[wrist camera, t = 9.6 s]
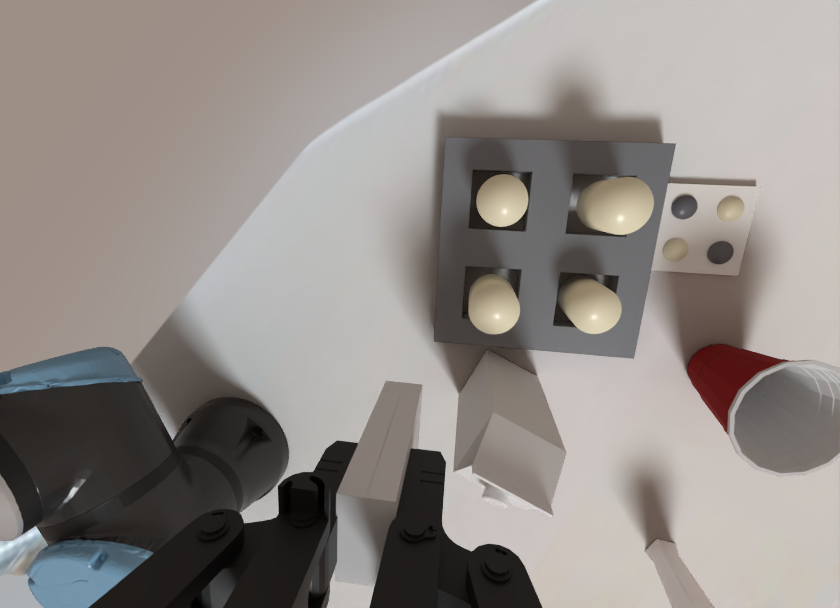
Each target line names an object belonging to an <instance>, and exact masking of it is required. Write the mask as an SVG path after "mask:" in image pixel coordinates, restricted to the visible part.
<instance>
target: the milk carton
mask: <svg viewBox="0 0 840 608" xmlns="http://www.w3.org/2000/svg"><path fill="white" fill-rule="evenodd" d="M565 456H566V451H565V448H564V445H563V443H562V440H561V437H560V435H559V432H558V429H557V427H556V424H555V421H554V419H553V416H552V413H551V410H550V408H549V405H548V402H547V400H546V397H545V394H544V392H543V389H542V386H541V384H540V381H539V378H538V377H537V376H535V375H533V374H532V373H530V372H528V371H526V370H524V369H522V368H521V367H519V366H517V365H515V364H513V363H511V362H510V361H508V360H506V359H504V358H502V357H500V356H499V355H497V354H495V353H493V352H491V351H489V350H487V351H486V352H485V354H484V356H483V357H482V359H481V360H480V362H479V364H478V365H477V367H476V368H475V370H474V372H473V373H472V375H471V376H470V378H469V380H468V381H467V383H466V384H465V386H464V387H463V389H462V391H461V392H460V394H459V398H458V413H457V427H456V441H455V455H454V471H453V472H454V473H456V474H458V475H460V476H461V477H463V478H465V479H467V480H469V481H471V482H472V483H474V484H476V485H478V486H480V487H482V488H484V489H485V490H484V493H483V496H482V498H483V499H484V500H485V501H486V502H488V503H489V504H491V505H493V506H496V507H499V508H507V507H508V503H511V504H513V505H515V506H517V507H519V508H521V509H523V510H526V509H537V510H538V511H540V512H542V513H544V514H546V515H548V516H549V517H553V513H552V509H551V504H552V500H553V497H554V493H555V490H556V487H557V483H558V480H559V476H560V473H561V470H562V466H563V463H564V459H565Z"/></svg>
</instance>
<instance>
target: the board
mask: <svg viewBox="0 0 840 608" xmlns="http://www.w3.org/2000/svg"><path fill="white" fill-rule="evenodd" d="M675 145H676V144H670V143H634V142H599V141H563V140H528V139H493V138H457V137H445V153H444V170H443V188H442V206H441V223H440V241H439V259H438V277H437V294H436V312H435V330H434V341H435V342H447V343H459V344H470V345H482V346H494V347H505V348H517V349H529V350H540V351H552V352H563V353H575V354H587V355H598V356H610V357H622V358H633V359H634V355H635V350H636V345H637V340H638V335H639V330H640V324H641V319H642V314H643V309H644V304H645V299H646V294H647V289H648V283H649V278H650V273H651V268H652V263H653V258H654V253H655V248H656V243H657V237H658V232H659V227H660V222H661V217H662V212H663V207H664V202H665V196H666V191H667V186H668V181H669V176H670V171H671V166H672V161H673V155H674V150H675ZM473 171H482V172H509V173H529V180H528V189H527V193H528V206H527V209H526V211H525V217H524V226H523V230H511V229H492V228H474V227H469V215H470V202H471V188H472V175H473ZM573 175H589V176H616V177H634V178H637V179H640V180H642V181H643V182H645V183H646V184H647V185H648V186H649V188H650V189H651V191H652V194H653V198H654V207H653V211H652V214H651V216H650V218H649V219H648V221H647V222H646V223H645V224H644V225H643V226H642V227H641V228H640V229H638V230H636V231H635V232H632V233H629V234H625V235H605V234H586V233H568V232H566V225H567V218H568V211H569V203H570V196H571V189H572V181H573ZM466 266H474V267H490V268H505V269H519V272H518V281H517V290H516V297H517V299H518V301H519V305H520V315H519V318H518V320H517V322H516V324H515V325H514V326H513V327H512V328H511V329H509V330H508V331H506V332H504V333H501V334H487V333H484V332H482V331H480V330H479V329H477V328H476V327H475V326H474V325H473V323H472V322H471V320H470V317H469V313H462V309H463V296H464V282H465V269H466ZM560 272H568V273H583V274H599V275H611V276H610V282H609V288H608V289H610V290H611V291H613V292H614V293H615V294H616V295H617V296H618V298H619V300H620V302H621V306H622V311H621V316H620V318H619V320H618V322H617V323H616V324H615V326H614V327H612V328H611V329H610V330H608V331H606V332H603V333H599V334H589V333H585V332H583V331H581V330H579V329H578V328H577V327H576V326H575V325H574V324H573V322H572V321H564V320H554V314H555V306H556V299H557V292H558V284H559V277H560Z"/></svg>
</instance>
